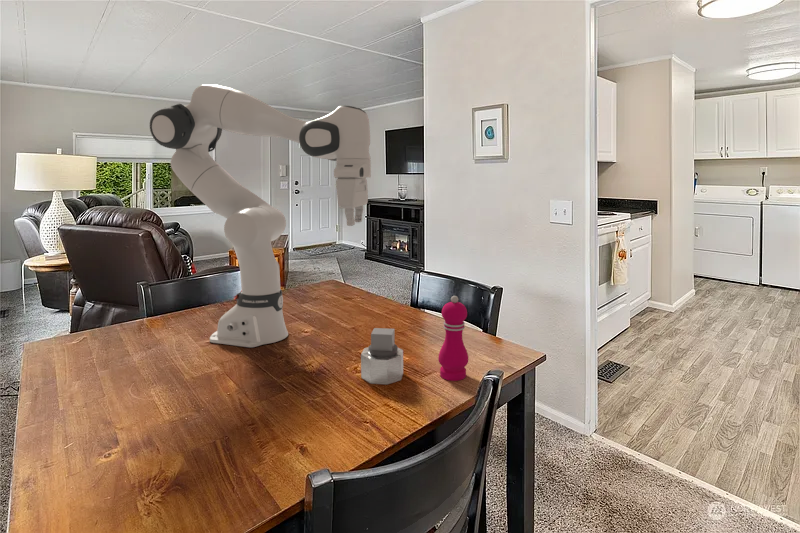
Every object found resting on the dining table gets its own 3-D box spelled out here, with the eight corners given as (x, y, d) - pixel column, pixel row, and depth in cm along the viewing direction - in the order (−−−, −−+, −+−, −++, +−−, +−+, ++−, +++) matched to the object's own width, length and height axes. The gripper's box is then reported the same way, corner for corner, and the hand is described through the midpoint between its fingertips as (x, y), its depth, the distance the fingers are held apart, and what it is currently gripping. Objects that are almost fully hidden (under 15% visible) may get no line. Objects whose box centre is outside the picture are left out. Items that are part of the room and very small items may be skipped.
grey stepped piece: (366, 368, 109) (365, 335, 108) (371, 357, 116) (371, 326, 114) (395, 370, 108) (395, 336, 107) (399, 358, 115) (399, 327, 114)
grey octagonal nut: (358, 383, 109) (358, 358, 107) (366, 366, 118) (366, 344, 117) (399, 385, 107) (399, 360, 106) (404, 368, 117) (404, 345, 116)
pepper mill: (435, 370, 116) (436, 292, 112) (464, 369, 116) (466, 291, 113) (440, 382, 109) (442, 300, 105) (471, 381, 109) (473, 299, 106)
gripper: (350, 171, 132) (351, 220, 134) (331, 170, 112) (333, 227, 114) (372, 171, 131) (373, 220, 134) (357, 170, 111) (358, 227, 114)
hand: (354, 223), depth 124 cm, fingers open, 8 cm apart
